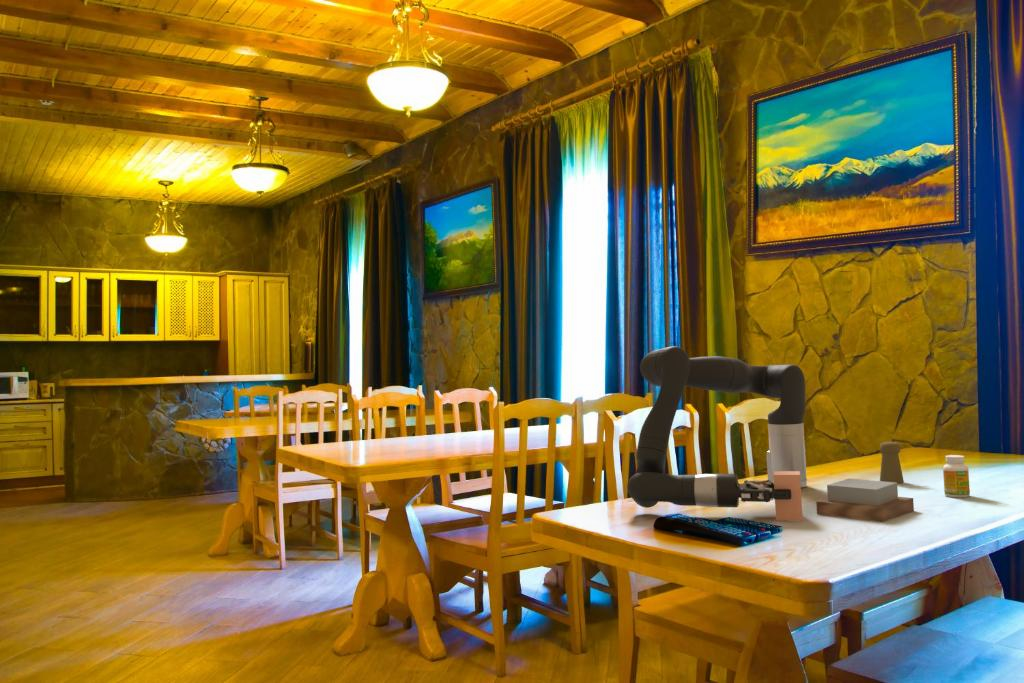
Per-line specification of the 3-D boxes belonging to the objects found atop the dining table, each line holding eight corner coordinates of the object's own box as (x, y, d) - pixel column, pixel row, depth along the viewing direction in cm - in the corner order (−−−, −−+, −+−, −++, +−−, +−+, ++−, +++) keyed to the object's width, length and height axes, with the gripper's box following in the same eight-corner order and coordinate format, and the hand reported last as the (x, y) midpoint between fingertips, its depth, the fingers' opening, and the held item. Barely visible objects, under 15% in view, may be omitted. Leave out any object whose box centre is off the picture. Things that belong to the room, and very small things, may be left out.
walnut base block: (817, 516, 182) (816, 501, 182) (849, 506, 191) (848, 491, 192) (883, 525, 170) (882, 508, 170) (914, 513, 180) (913, 498, 180)
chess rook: (908, 483, 216) (905, 442, 216) (885, 484, 216) (883, 443, 216) (897, 480, 222) (895, 440, 222) (875, 481, 222) (873, 441, 222)
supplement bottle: (959, 498, 192) (956, 458, 192) (939, 495, 197) (937, 456, 197) (975, 496, 194) (972, 456, 194) (955, 493, 199) (953, 454, 199)
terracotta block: (776, 520, 177) (773, 474, 177) (776, 515, 182) (773, 471, 182) (802, 520, 175) (800, 474, 175) (802, 515, 180) (799, 471, 180)
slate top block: (827, 500, 182) (827, 485, 182) (849, 493, 189) (849, 478, 189) (877, 505, 173) (876, 489, 174) (898, 498, 181) (897, 482, 181)
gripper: (712, 478, 177) (790, 478, 172) (718, 469, 191) (790, 469, 185) (714, 512, 177) (792, 514, 172) (719, 501, 190) (792, 502, 185)
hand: (791, 490), depth 178 cm, fingers open, 8 cm apart
